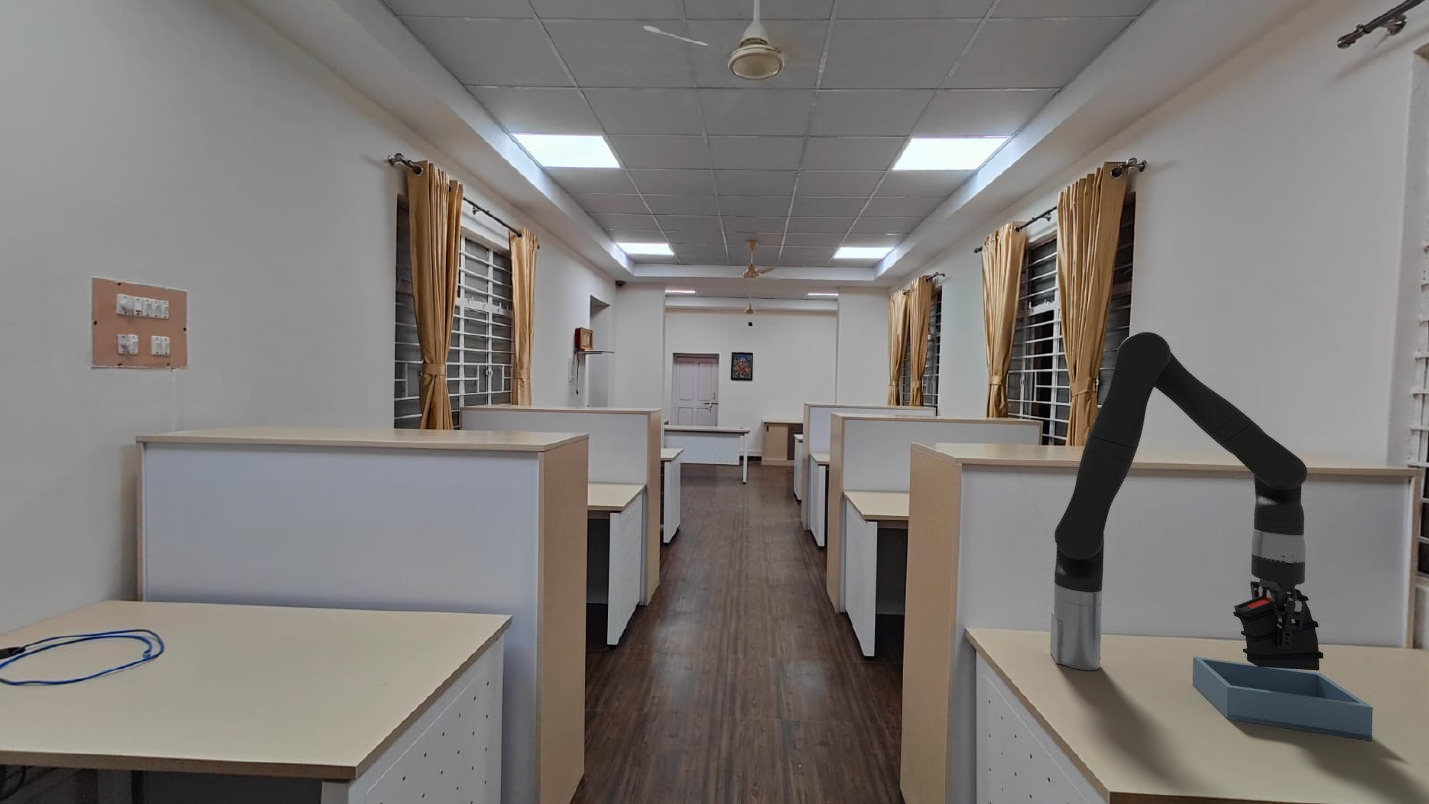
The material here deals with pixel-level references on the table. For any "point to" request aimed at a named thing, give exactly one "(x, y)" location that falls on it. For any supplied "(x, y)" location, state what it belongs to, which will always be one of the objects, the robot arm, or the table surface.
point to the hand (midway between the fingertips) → (1275, 643)
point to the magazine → (1263, 634)
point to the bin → (1282, 698)
